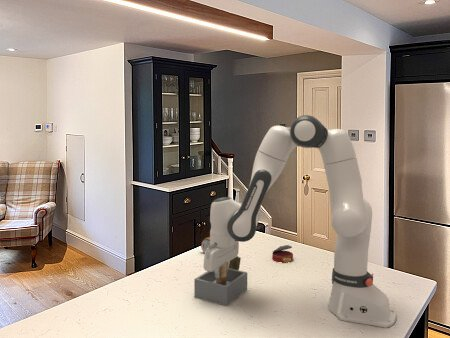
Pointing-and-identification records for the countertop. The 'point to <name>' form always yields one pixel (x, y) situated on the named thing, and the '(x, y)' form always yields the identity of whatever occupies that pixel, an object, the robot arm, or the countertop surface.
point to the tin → (205, 244)
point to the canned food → (282, 254)
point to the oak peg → (222, 275)
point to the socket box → (220, 287)
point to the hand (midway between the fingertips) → (221, 275)
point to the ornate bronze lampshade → (235, 263)
